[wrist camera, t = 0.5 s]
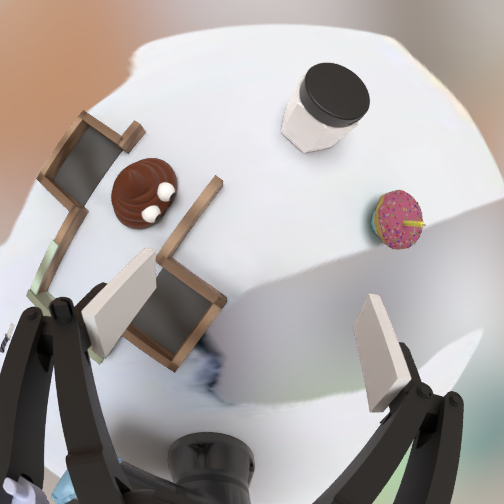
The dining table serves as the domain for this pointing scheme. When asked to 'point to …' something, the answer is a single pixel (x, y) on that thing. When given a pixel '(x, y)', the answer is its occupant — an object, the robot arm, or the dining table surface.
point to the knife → (6, 338)
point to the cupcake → (398, 220)
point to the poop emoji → (143, 192)
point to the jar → (324, 107)
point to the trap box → (173, 273)
